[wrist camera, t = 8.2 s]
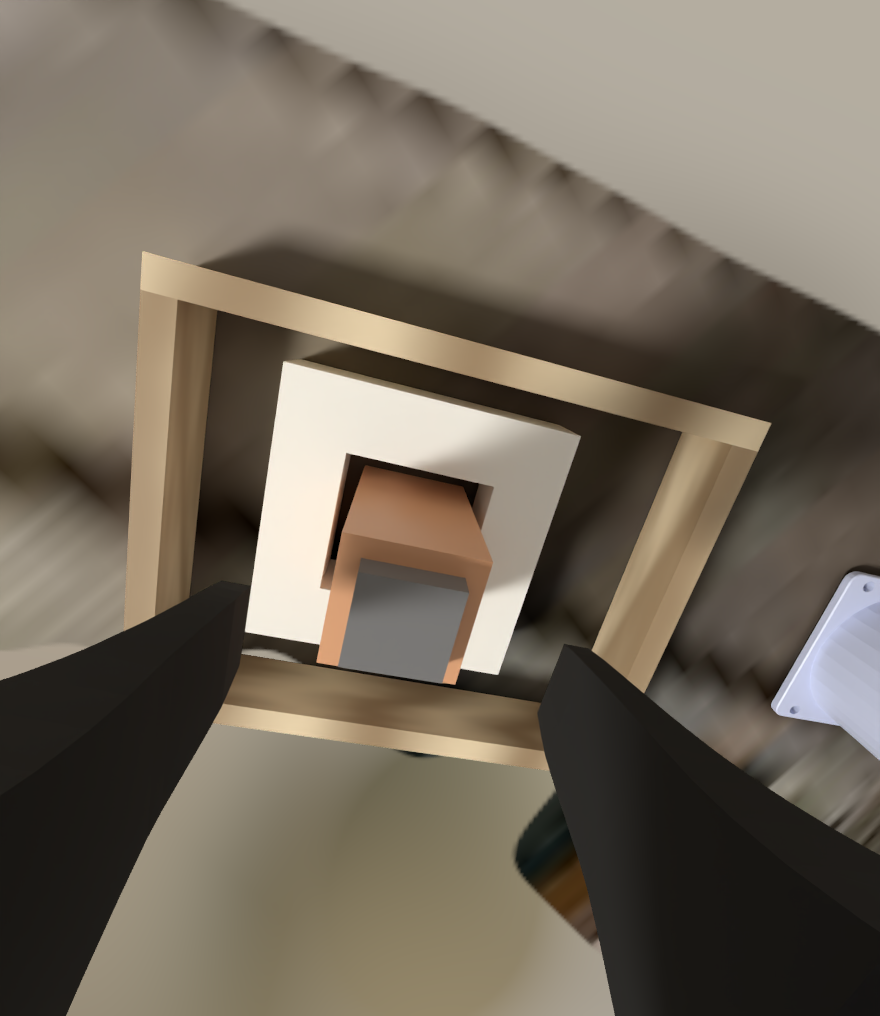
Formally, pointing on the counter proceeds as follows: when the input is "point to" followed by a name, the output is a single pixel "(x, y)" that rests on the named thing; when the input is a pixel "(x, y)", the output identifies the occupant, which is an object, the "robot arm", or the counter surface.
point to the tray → (416, 444)
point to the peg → (405, 579)
